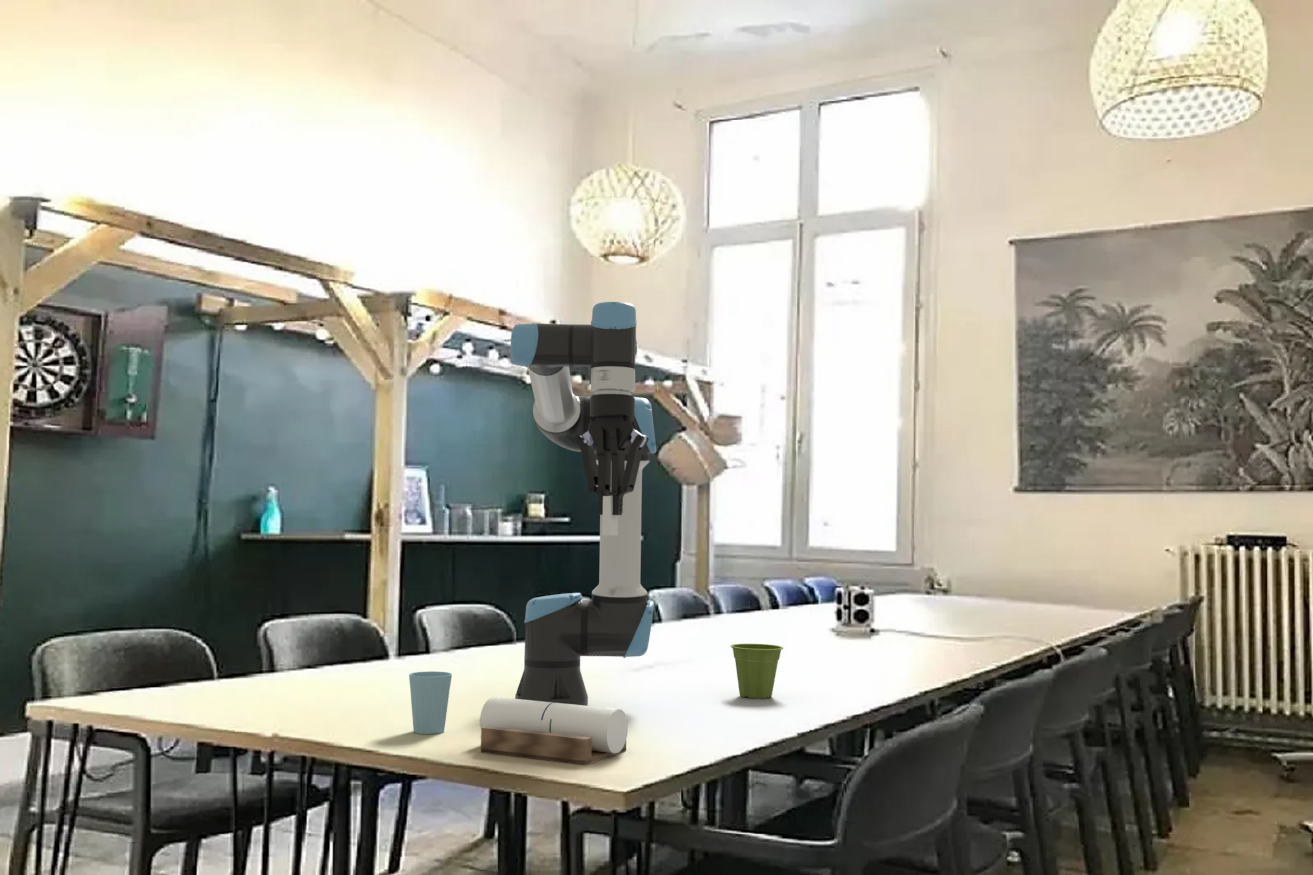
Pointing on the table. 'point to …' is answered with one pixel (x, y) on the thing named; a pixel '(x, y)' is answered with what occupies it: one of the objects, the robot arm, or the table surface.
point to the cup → (429, 700)
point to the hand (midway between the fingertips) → (610, 535)
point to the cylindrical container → (559, 720)
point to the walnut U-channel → (540, 745)
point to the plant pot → (756, 668)
